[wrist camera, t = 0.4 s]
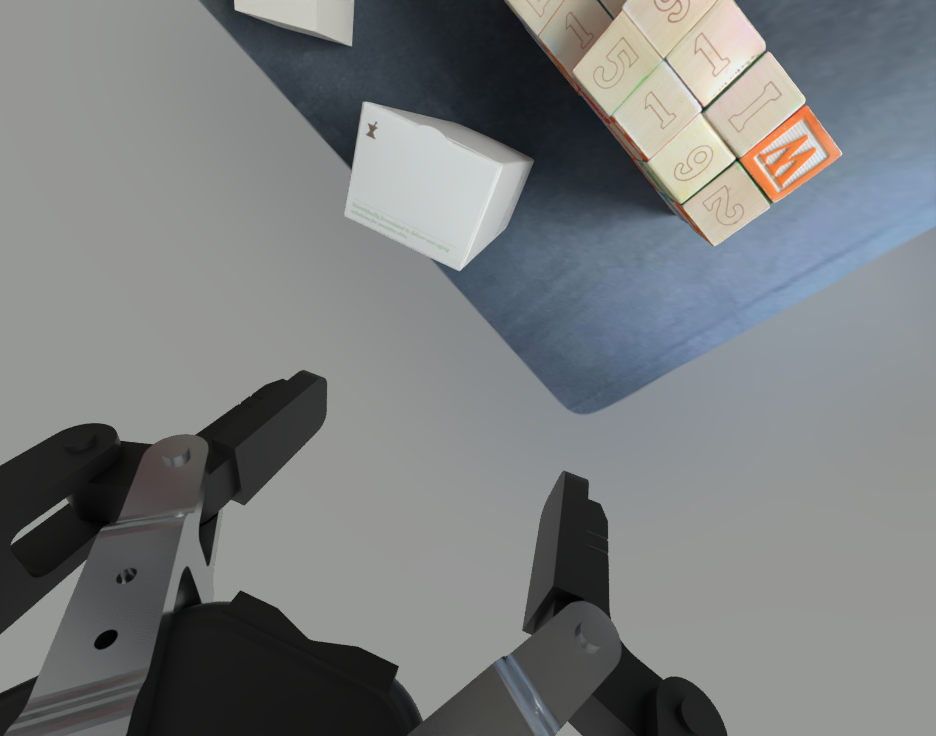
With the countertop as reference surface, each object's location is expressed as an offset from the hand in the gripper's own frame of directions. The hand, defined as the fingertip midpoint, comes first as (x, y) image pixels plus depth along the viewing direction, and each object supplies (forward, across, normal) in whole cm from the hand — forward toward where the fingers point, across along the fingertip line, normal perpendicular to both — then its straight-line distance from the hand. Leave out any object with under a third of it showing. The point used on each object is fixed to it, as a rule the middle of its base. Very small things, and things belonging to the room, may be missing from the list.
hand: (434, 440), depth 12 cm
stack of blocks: (+28, -2, -13) cm, 32 cm away
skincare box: (+28, +7, -4) cm, 29 cm away
